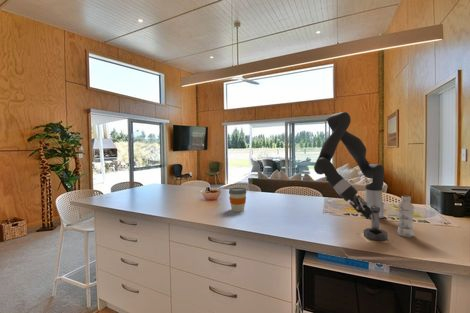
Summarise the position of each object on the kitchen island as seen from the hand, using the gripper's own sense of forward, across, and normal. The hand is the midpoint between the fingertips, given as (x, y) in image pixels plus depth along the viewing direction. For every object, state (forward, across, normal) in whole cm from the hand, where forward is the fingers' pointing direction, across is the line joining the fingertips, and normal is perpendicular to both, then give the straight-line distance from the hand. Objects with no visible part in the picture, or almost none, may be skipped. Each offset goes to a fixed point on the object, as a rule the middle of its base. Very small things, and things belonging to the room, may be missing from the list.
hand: (370, 215), depth 117 cm
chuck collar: (+9, 0, +6) cm, 10 cm away
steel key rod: (+9, 0, +6) cm, 10 cm away
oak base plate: (+9, 0, +6) cm, 11 cm away
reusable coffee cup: (-52, +8, +68) cm, 86 cm away
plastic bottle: (+18, +12, -1) cm, 21 cm away
